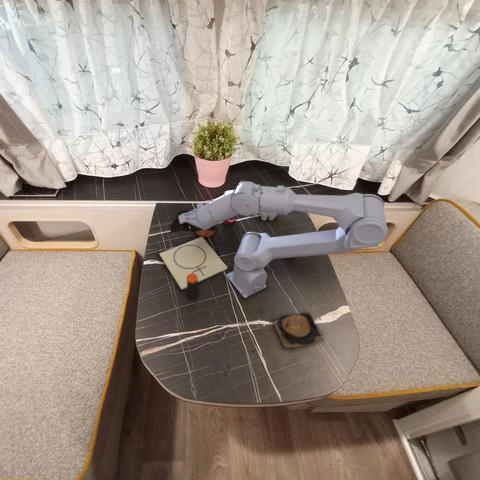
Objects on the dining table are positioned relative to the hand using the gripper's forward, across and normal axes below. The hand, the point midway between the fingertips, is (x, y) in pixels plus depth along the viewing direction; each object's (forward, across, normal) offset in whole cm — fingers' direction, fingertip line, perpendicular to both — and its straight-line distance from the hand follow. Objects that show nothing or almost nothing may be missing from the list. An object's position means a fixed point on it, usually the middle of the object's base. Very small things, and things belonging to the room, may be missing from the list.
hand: (181, 228), depth 76 cm
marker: (+4, -2, +19) cm, 19 cm away
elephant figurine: (-4, -39, -3) cm, 40 cm away
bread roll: (-18, -14, +34) cm, 41 cm away
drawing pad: (+7, -9, +9) cm, 14 cm away
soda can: (+4, -28, -4) cm, 29 cm away
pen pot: (+8, -20, -2) cm, 22 cm away
